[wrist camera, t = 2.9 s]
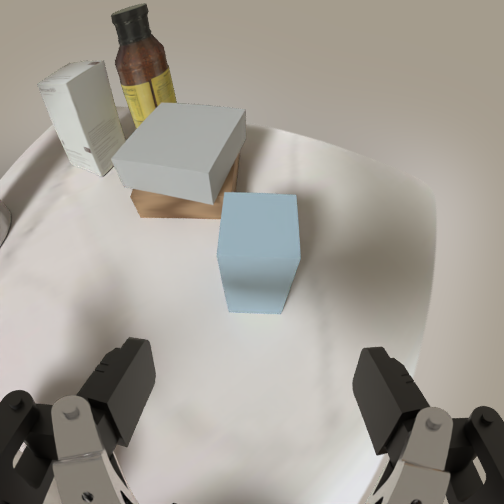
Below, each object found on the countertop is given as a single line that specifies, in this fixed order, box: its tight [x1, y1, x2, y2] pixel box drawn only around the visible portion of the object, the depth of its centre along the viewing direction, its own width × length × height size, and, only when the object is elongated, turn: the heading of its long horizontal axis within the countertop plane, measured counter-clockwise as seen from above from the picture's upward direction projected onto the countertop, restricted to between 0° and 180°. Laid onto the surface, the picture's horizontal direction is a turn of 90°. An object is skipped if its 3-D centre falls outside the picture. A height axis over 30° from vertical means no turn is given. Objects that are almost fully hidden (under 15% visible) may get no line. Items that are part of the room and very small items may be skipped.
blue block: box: [217, 192, 301, 314], centre depth 20 cm, size 4×4×10 cm
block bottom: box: [130, 151, 240, 219], centre depth 29 cm, size 10×10×4 cm
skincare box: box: [37, 61, 126, 177], centre depth 27 cm, size 8×6×15 cm
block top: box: [111, 103, 246, 205], centre depth 26 cm, size 10×10×4 cm
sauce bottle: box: [111, 3, 177, 129], centre depth 27 cm, size 7×6×20 cm
